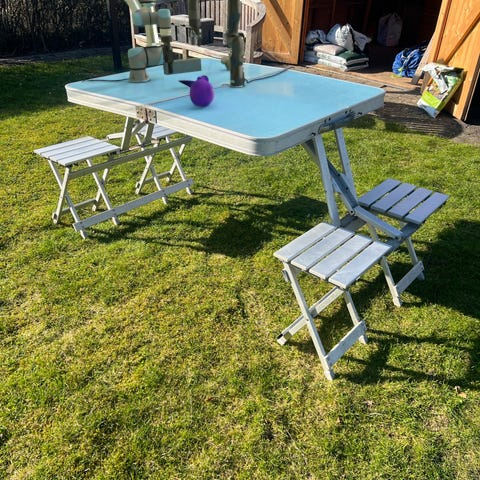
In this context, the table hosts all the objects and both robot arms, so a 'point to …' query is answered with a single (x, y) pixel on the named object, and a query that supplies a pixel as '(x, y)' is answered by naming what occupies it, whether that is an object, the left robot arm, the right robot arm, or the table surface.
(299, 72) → the table surface
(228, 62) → the teapot
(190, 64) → the bar
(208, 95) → the toy
